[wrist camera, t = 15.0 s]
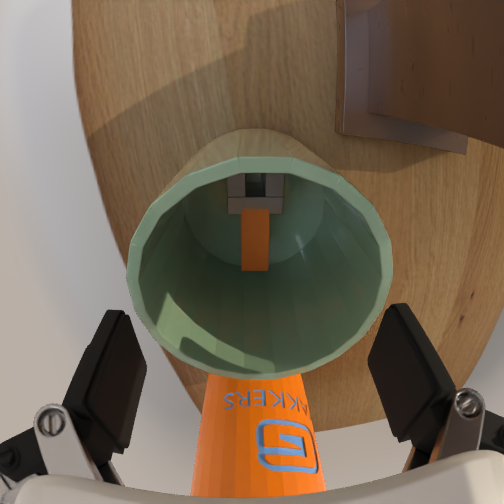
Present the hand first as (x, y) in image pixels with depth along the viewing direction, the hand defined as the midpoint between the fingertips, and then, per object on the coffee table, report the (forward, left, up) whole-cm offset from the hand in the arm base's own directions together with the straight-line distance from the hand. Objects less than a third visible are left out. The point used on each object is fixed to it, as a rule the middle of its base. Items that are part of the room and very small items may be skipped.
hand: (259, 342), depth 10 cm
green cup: (0, +1, -11) cm, 11 cm away
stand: (+10, +11, -11) cm, 19 cm away
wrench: (0, +1, -11) cm, 11 cm away
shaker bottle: (0, -12, -12) cm, 17 cm away
